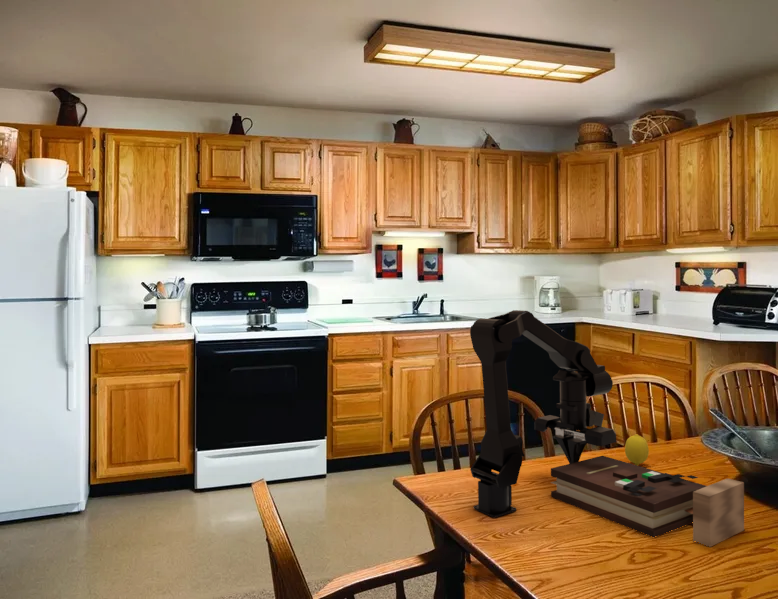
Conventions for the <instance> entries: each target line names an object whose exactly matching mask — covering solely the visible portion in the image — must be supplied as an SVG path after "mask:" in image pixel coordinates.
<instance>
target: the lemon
mask: <svg viewBox="0 0 778 599" xmlns="http://www.w3.org/2000/svg"><path fill="white" fill-rule="evenodd" d="M649 451H650V450H649V445H648V443H647V440H646V439H645V438H644V437H643V436H641V435H639V434H637V433H635V434H634V435H631V436H630V437H628V438H627V439H626V441H625V446H624V452H625V456H626V458H627V460H628V461H629V462H631V463H632V464H633V465H637V466H640V465H641V464H643V463H645V461H647V460H648V457H649Z"/></svg>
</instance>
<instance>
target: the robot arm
mask: <svg viewBox="0 0 778 599" xmlns="http://www.w3.org/2000/svg"><path fill="white" fill-rule="evenodd" d="M469 331H470V332H469V335H470V340H471V344H472V349H473V351H474V353H475V354H476V356H477V357H478V359H479V361H480V364H481V374H482V384H483V385H482V387H483V396H484V397H483V399H484V412H485V422H486V424H485V425H486V431H485V432H484V435H483V437H482V439H481V441H480V452H479V455H478V456H477V457H476V459H475V461H474V463H472V465H471V467H470V473H471V476H472V477H473V478H474V479H475V478H476V479H478V481H477V493H478V494H477V497H478V498H477V500H478V504H475V505H473V506H472V507H473V509H474V510H476V511H478V512H479V513H482V514H484V515H487V516H488V517H491V518H494V519H495V518H499V517H501V516H504V515H508V514H511V513H513V512H516V511H517V507H514V506H512V505H513V504H512V503H513V501H512V500H513V499H512V498H513V496H512V495H513V493H512V490H513V489H512V488H513V487H512V486H514V485H516V484H517V483H518V479H519V475H520V472H521V471H520V470H521V467H522V464H523V457H525V454H524V450H523V444H524V443H523V442H524V441H523V438H522V436H520V435H517V434H514V432H513V430H512V426H511V412H510V401H509V400H510V399H509V389H508V386H509V385H508V374H507V359H508V357H509V355H510V353H511V352H512V349H513V348H512V347H513V340H516V339H517V338H520V337H521V336H522V335H523V336H524V337H526V338H527V339H528V340H530V341H531V342H533V343H534V344H535V345H537V346H539V347H540V348H542V349H543V350H544V351H546V352H547V353H548V355H549V359H550V360H551V361H552V362H553V363H554V364H555V365H556V366H557V367H558V368H561V369H559V370H558V372H557V373H555V375H554V376H553V377H552V380H553V381H557V382H559V402H558V403H556V409H560V410H559V411H560V414H559V416H560V417H559V416H556V415H551V414H549V415H544V416H540V417H536V419H535V421H534V430H535V431H539V432H542V433H544V432H546V431H547V430H548V428H549V429H553V430H555V435H553V439H556V441H557V443H558V444H559V446H560V447H561V450H562V452H563V454H564V455H565V458H566V460H567V462H568V464H571V463H575V462H579V461H580V459H581V457H582V454H583V451H584V449H585V447H586V446H587V444H589V445H592V446H593V445H594V446H596V447H603V446H606V445H610V444H614V443H616V442H617V434H616V431H615V430H614V429H613V428H608V427H604V426H603V421H604V416H605V414H604V413H602V412H599V411H595V410H592V406H591V403H589V402H587V397H593V396H594V397H595V396H600V395H605V394H608V393H609V392H611V391H612V388H613V385H614V384H613V383H614V381H613V380H612V377H611V375H610V374H609V372H607V371H606V366H605V365H601V364H597V363H596V361H595V359H594V357H593V355H592V354H591V349H590V348H589V347H588V346H587V345H585V344H582V343H581V342H578V341H574V340H572V339H571V340H570V339H567V338H565V337H563V336H562V335H561V334H559V333H557V332H556V331H555V330H553V329H552V328H551V327H549V326H548V325H546V324H545V323H544V322H542V321H541V320H540V319H539V318H537V317H536V316H534V314H533V313H532V312H531V311H528V310H521V309H520V310H517V309H516V310H514V309H513V310H511V311H509V312H506V313H504V314H500V315H496V316H492V317H489V318H478V319H476V320H475V321H474V322H473V324H472V325H471V327H470V330H469ZM564 369H565V370H564ZM593 426H595V427H593ZM596 426H597V427H596ZM591 427H592V428H591ZM492 470H493V471H492ZM494 471H495V472H494ZM497 472H498V473H497Z"/></svg>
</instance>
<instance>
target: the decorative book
mask: <svg viewBox="0 0 778 599" xmlns="http://www.w3.org/2000/svg"><path fill="white" fill-rule="evenodd" d="M550 477H552V478H555V479H556V480H554V481H551V482H550V484H553V485H556V489H554V490H551V491H550V497H551V498H553V499H556V500H558V501H560V502H563V503H566V504H568V505H569V506H574V507H576V508H577V509H581V510H584V511H586V512H588V513H590V514H594V515H595V516H598V515H599V516H598V517H601V518H603V517H604V518H603V519H606V520H608V519H609V521H611V522H613V521H614V522H613V523H616V524H618V523H619V524H618V525H621V526H623V525H624V527H626V528H628V527H629V529H631V530H633V529H634V531H636V530H637V531H636V532H638V531H639V532H638V533H641V532H642V533H641V534H643V533H644V535H646V534H647V536H648V535H649V536H648V537H651V536H652V537H651V538H653V537H654V538H656V537H655V536H657V537H659V536H658V535H660V536H662V535H664V533H665V534H667V533H666V532H668V533H670V532H672V531H671V530H673V531H675V529H676V530H678V529H681V528H683V527H682V526H684V527H686V526H689V525H691V524H690V523H692V522H693V492H694V491H696V490H699V489H701V488H704V487H706V486H707V485H705V484H702V483H698V482H695V481H692V480H694V479H698V478H699V477H698V476H695V475H687V476H686V475H683V474H679V473H677V474H670V473H667V472H661V471H656V470H653V469H650V468H647V467H644V466H640V465H638V466H637V465H635V464H634V463H630V462H626V461H623V460H619V459H616V458H613V457H609V456H606V455H600V456H596V457H592V458H588V459H583V460H579V462H575V463H571V464H569V463H568V464H567V463H566V464H564V465H559V466H556V467H555V466H554V467H552V468H550ZM684 477H687V478H689V479H692V480H688V479H684ZM688 524H689V525H688ZM692 524H693V523H692ZM685 525H686V526H685ZM680 527H681V528H680ZM677 528H678V529H677ZM669 531H670V532H669ZM661 534H662V535H661Z"/></svg>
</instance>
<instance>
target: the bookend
mask: <svg viewBox="0 0 778 599" xmlns="http://www.w3.org/2000/svg"><path fill="white" fill-rule="evenodd" d="M705 486H706V487H704V488H701V489H699V490H696V491H694V492H693V523H692V525H693V526H692V541H693V542H694V541H696V542H695V543H697V542H699V543H698V544H700V543H701V544H700V545H702V544H704V545H703V546H705V545H706V547H708V546H709V547H708V548H712V547H713V546H715V545H717V544H720V543H721V542H724V541H725V540H727V539H730V538H731V537H733V536H735V535H737V534H739V533H741V532H743V531H745V482H744V481H739V480H735V479H731V478H729V477H728V478H725V479H722V480H720V481H717V482H715V483H711V484H709V485H705Z"/></svg>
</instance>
